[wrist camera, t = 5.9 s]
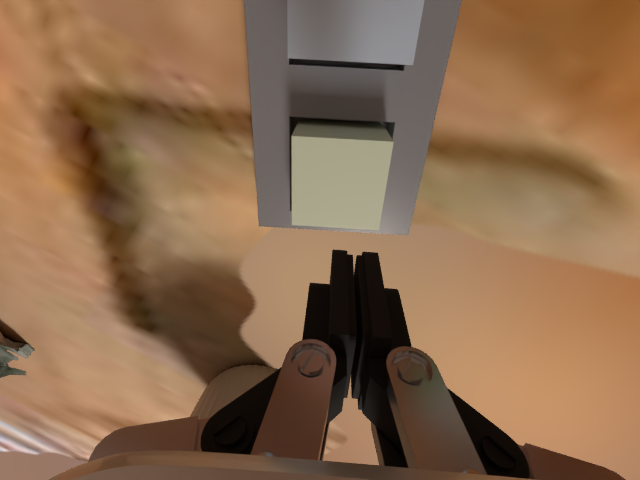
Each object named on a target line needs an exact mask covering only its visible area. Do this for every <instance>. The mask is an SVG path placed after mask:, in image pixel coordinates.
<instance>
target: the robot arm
mask: <svg viewBox="0 0 640 480" xmlns="http://www.w3.org/2000/svg"><path fill="white" fill-rule="evenodd" d="M350 377H351V388H352V398H356V399H358V409H359V410H362V412H363V414H364V415H365V416H366V417H367V418H368V419H369V420H370V421H371V429H372V434H373V439H374V443H375V448H376V452H377V456H378V461H379V465H367V464H355V463H354V464H353V463H342V462H332V461H323V458H324V452H325V446H326V441H327V435H328V429H329V423H330V421H332V420H333V419H334V418H335V417H336V416H337V415H338V414H339V413H340V412H341V411H342V406H343V399H344V398H347V395H348V389H349V382H350ZM50 480H625V479H624V478H622V477H621V476H620V475H619V474H617V473H615V472H614V471H611V470H609V469H607V468H605V467H602V466H598V465H595V464H592V463H589V462H585V461H582V460H579V459H576V458H573V457H569V456H566V455H563V454H560V453H556V452H553V451H550V450H547V449H544V448H540V447H537V446H533V445H531V444H527V443H526V444H525V445H524V446H521V445H518V444H517V443H515V441H513V440H512V439H511V438H510V437H509V436H508V435H507V434H506V433H504V432H503V431H502V430H501V429H499V428H498V427H497V426H495V425H494V424H493V423H492V422H490V421H489V420H488V419H486V418H485V417H484V416H483V415H481V414H480V413H479V412H477V411H476V410H475V409H474V408H472V407H471V406H470V405H468V404H467V403H466V402H465V401H463V400H462V399H461V398H460V397H458V396H457V395H455V394H454V393H453V392H452V391H450V390H449V389H448V388H447V387H446V385H445V383H444V381H443V379H442V376H441V374H440V372H439V370H438V368H437V366H436V364H435V363H434V361H433V360H432V359H431V358H430V357H429V356H428V355H427V354H426V353H424V352H423V351H421V350H419V349H416V348H413V347H411V342H410V338H409V334H408V329H407V325H406V321H405V317H404V312H403V308H402V304H401V299H400V295H399V292H398V290H397V289H388V288H384V285H383V279H382V273H381V267H380V262H379V256H378V253H373V252H363V253H362V256H360V255H357V257H356V264H355V272H353V255H347V251H344V250H333V251H332V263H331V276H330V284H319V283H310V286H309V293H308V301H307V308H306V316H305V324H304V331H303V339H302V341H299V342H297V343H295V344H294V345H293V346H292V347H291V348H290V349H289V351H288V352H287V354H286V357H285V360H284V362H283V365H282V367H281V368H280V369H278V370H277V371H275V372H274V373H272V374H271V375H270V376H268V377H267V378H265V379H264V380H262V381H261V382H259V383H258V384H256V385H255V386H254V387H252V388H251V389H249V390H248V391H246V392H245V393H243V394H242V395H240V396H239V397H238V398H236V399H235V400H233V401H232V402H230V403H229V404H227V405H226V406H224V407H223V408H222V409H220V410H219V411H217V412H216V413H215V414H214V415H213V416H212V417H211V418H204V419H199V416H194V417H188V418H181V419H175V420H168V421H162V422H155V423H149V424H142V425H136V426H129V427H125V428H121V429H118V430H115V431H114V432H112V433H111V434H109V435H108V436H106V437H105V438H104V439H103V440H102V441H101V442H100V443H99V444H98V445H97V446H96V447H95V449H94V451H93V453H92V454H91V456H90V458H89V461H88V462H87V463H84V464H82V465H79V466H76V467H73V468H71V469H69V470H67V471H65V472H63V473H60V474H58V475H56V476H54V477H53V478H51V479H50Z"/></svg>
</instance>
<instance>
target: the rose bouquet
mask: <svg viewBox="0 0 640 480" xmlns="http://www.w3.org/2000/svg"><path fill="white" fill-rule="evenodd" d="M7 350H10V351H12V352H14V353H16V354H18V355H20V356H22V357H24V358H28V355H31V353H32V352H33V351H34V349H32V348H31V347H30V346H29V345H28V344H25V343H17V342H13V341H11V340H9V339H7V338H5V337H3V335H2V333H1V332H0V378H1V377H4V376H7V375H26V374H25V373H27V372H25V371H22V370H19V369H16V368H10V367H9V366H8V364H7V363H8V362H10V361H12V360H18V357H16V356H14V355H13V354H11V353H9V352H7Z"/></svg>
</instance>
